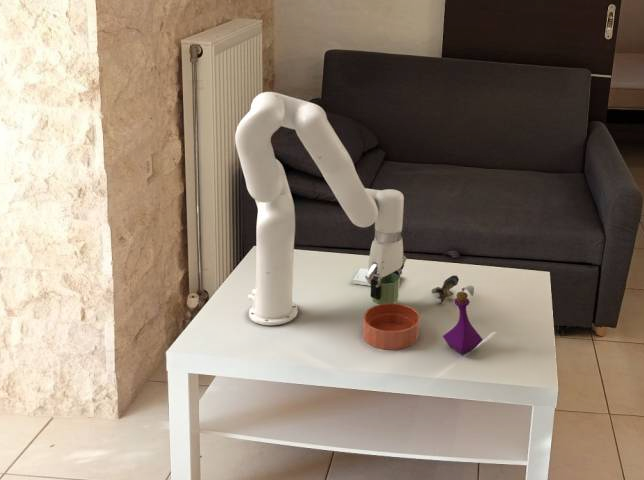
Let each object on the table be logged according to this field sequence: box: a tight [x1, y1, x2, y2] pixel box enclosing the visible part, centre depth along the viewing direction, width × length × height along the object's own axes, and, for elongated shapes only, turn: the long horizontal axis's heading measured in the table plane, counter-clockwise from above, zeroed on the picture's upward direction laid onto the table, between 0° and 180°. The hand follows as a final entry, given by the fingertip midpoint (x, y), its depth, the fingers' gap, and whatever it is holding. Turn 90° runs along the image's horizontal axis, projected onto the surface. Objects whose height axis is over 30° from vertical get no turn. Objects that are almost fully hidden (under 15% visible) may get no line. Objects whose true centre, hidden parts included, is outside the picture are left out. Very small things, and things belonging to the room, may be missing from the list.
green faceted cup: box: [370, 273, 401, 305], centre depth 205 cm, size 8×8×6 cm
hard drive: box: [352, 267, 378, 287], centre depth 221 cm, size 2×8×12 cm
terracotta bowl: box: [362, 302, 421, 351], centre depth 191 cm, size 15×15×6 cm
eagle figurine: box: [431, 275, 460, 306], centre depth 214 cm, size 8×7×9 cm
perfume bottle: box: [442, 285, 484, 356], centre depth 187 cm, size 8×8×18 cm
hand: (385, 292), depth 205 cm, fingers closed on green faceted cup, 7 cm apart
